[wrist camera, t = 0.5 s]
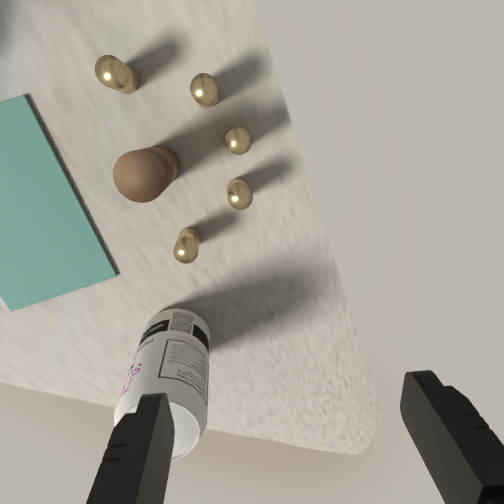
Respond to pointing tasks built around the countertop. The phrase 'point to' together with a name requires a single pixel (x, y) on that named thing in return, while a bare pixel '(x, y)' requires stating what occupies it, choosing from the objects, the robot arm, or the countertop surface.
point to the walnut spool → (145, 173)
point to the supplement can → (172, 374)
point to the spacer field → (206, 96)
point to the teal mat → (41, 217)
